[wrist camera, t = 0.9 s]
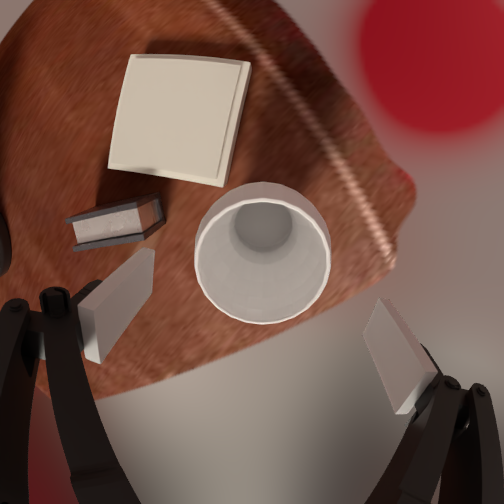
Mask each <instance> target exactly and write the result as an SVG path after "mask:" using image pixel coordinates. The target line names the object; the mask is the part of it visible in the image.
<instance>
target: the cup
mask: <svg viewBox="0 0 504 504" xmlns="http://www.w3.org/2000/svg"><path fill="white" fill-rule="evenodd" d="M194 266H195V270H196V275H197V279H198V282H199V284H200V286H201V288H202V290H203V292H204V294H205V295H206V297H207V298H208V299H209V300H210V301H211V302H212V303H213V304H214V305H215V306H216V307H217V308H218V309H219V310H221V311H222V312H224V313H225V314H227V315H229V316H230V317H232V318H235V319H238V320H241V321H243V322H247V323H255V324H271V323H279V322H282V321H285V320H288V319H291V318H294V317H295V316H297V315H299V314H300V313H302V312H303V311H305V310H307V309H308V308H309V307H310V306H311V305H312V304H313V303H314V302H315V301H316V300H317V299H318V298H319V296H320V294H321V293H322V291H323V289H324V287H325V285H326V284H327V281H328V277H329V273H330V269H331V239H330V235H329V232H328V229H327V226H326V223H325V221H324V219H323V218H322V216H321V215H320V214H319V212H318V211H317V209H316V208H315V206H314V205H313V204H312V203H311V202H310V201H309V200H307V199H306V198H305V197H304V196H302V195H301V194H300V193H299V192H297V191H296V190H293V189H291V188H289V187H287V186H284V185H282V184H277V183H270V182H256V183H249V184H244V185H242V186H240V187H237V188H235V189H232V190H230V191H229V192H227V193H226V194H225V195H224V196H222V197H221V198H220V199H219V200H217V201H216V202H215V203H214V204H213V205H212V206H211V208H210V209H209V210H208V212H207V213H206V215H205V216H204V217H203V219H202V220H201V223H200V226H199V229H198V231H197V234H196V239H195V259H194Z"/></svg>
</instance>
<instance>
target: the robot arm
mask: <svg viewBox="0 0 504 504" xmlns="http://www.w3.org/2000/svg"><path fill="white" fill-rule="evenodd" d="M154 256H155V250H152V249H148V248H144V247H142V248H141V249H140V250H139V251H138V252H136V253H135V254H134V255H133V256H132V257H130V258H129V259H128V260H127V261H126V262H125V263H123V264H122V265H121V266H120V267H119V268H118V269H117V270H115V271H114V272H113V273H112V274H111V275H110V276H109V277H108V278H106V279H105V280H104V281H101V280H98V279H97V280H95V281H92V282H90V283H88V284H87V285H86V286H85V287H83V289H81V290H80V291H79V292H78V293H76V294H75V295H74V296H73V297H72V298H71V299H70V293H69V291H68V290H66V289H65V288H62V287H49V288H47V289H44V290H43V291H42V292H41V293H40V295H39V299H40V304H41V310H42V312H37V311H31V310H30V308H29V304H28V302H27V301H26V300H24V299H20V298H17V299H16V298H15V299H11V300H9V301H8V302H6V303H5V304H4V305H3V307H2V309H1V311H0V504H29V489H28V445H29V444H28V443H29V428H30V418H31V409H32V400H33V394H34V388H35V382H36V376H37V371H38V366H39V361H40V359H44V360H46V368H47V375H48V382H49V388H50V394H51V400H52V405H53V410H54V415H55V419H56V423H57V427H58V431H59V435H60V439H61V443H62V446H63V450H64V453H65V456H66V459H67V463H68V465H69V469H70V472H71V477H70V479H71V484H72V487H73V489H74V492H75V494H76V497H77V500H78V502H79V504H141V503H140V501H139V499H138V497H137V496H136V494H135V492H134V490H133V488H132V486H131V485H130V483H129V481H128V479H127V477H126V475H125V473H124V471H123V469H122V468H121V466H120V464H119V462H118V460H117V458H116V456H115V453H114V451H113V449H112V447H111V444H110V442H109V440H108V437H107V434H106V432H105V429H104V427H103V424H102V422H101V419H100V416H99V414H98V411H97V408H96V405H95V402H94V399H93V396H92V393H91V389H90V386H89V383H88V379H87V376H86V372H85V369H84V365H83V361H82V357H81V351H82V350H83V349H84V352H85V357H86V359H89V360H91V361H93V362H96V363H99V364H101V363H102V362H103V360H104V359H105V357H106V356H107V354H108V353H109V351H110V350H111V349H112V347H113V346H114V344H115V343H116V341H117V340H118V339H119V337H120V336H121V334H122V333H123V332H124V330H125V329H126V327H127V326H128V325H129V323H130V322H131V321H132V319H133V318H134V316H135V315H136V314H137V312H138V311H139V310H140V308H141V307H142V306H143V304H144V303H145V302H146V300H147V299H148V298H149V296H150V295H151V294H152V284H153V269H154ZM10 263H11V244H10V238H9V234H8V230H7V227H6V224H5V221H4V219H3V217H2V215H1V213H0V277H1V276H2V275H4V274H5V273H6V272H7V271H8V269H9V267H10ZM362 336H363V338H364V341H365V343H366V345H367V347H368V350H369V352H370V354H371V357H372V359H373V361H374V363H375V366H376V368H377V370H378V373H379V375H380V378H381V380H382V382H383V385H384V388H385V390H386V392H387V395H388V397H389V400H390V403H391V405H392V408H393V410H394V412H395V414H407V413H408V412H409V411H410V410H411V408H412V407H413V406H414V405H415V408H416V410H417V411H416V412H415V413H414V415H413V416H412V417H411V419H409V421H408V422H407V423H406V424H405V426H407V425H408V424H409V425H408V427H407V429H406V431H405V434H404V436H403V438H402V440H401V442H400V444H399V446H398V448H397V450H396V452H395V454H394V455H393V457H392V459H391V461H390V463H389V465H388V466H387V468H386V470H385V472H384V473H383V475H382V477H381V478H380V480H379V482H378V483H377V485H376V487H375V488H374V490H373V491H372V493H371V494H370V496H369V497H368V499H367V500H366V502H365V503H364V504H431V499H432V497H433V495H434V492H435V489H436V487H437V484H438V481H439V478H440V476H441V484H440V493H439V501H438V504H504V479H503V466H502V456H501V448H500V441H499V435H498V430H497V424H496V419H495V414H494V409H493V405H492V400H491V397H490V393H489V392H488V390H487V388H486V387H484V385H481V384H479V383H474V384H473V385H472V387H471V388H470V389H469V390H465V389H461V386H460V384H459V382H458V381H457V380H456V379H454V378H453V377H451V376H446V375H445V376H444V375H443V373H442V372H441V370H440V369H439V367H438V366H437V364H436V362H435V361H434V359H433V358H432V356H430V353H429V352H428V350H427V349H426V348H425V347H424V346H423V345H422V344H421V343H419V341H418V340H417V338H416V337H415V335H414V334H413V332H412V331H411V330H410V328H409V327H408V325H407V324H406V322H405V321H404V320H403V318H402V317H401V315H400V314H399V313H398V311H397V310H396V308H395V307H394V305H393V304H392V303H391V301H390V300H389V299H384V298H378V301H377V303H376V305H375V308H374V310H373V312H372V314H371V317H370V319H369V321H368V323H367V325H366V328H365V330H364V332H363V334H362ZM468 424H469V425H468ZM467 425H468V427H467V429H466V426H467Z"/></svg>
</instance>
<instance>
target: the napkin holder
mask: <svg viewBox="0 0 504 504" xmlns="http://www.w3.org/2000/svg"><path fill="white" fill-rule="evenodd" d="M65 221H66V224H69V223H73V226H74V230H75V234H76V238H77V241H78V244H77V245H75V246H73V251H74V252H76V251H81V250H87V249H93V248H99V247H105V246H111V245H117V244H124V243H130V242H136V241H143V240H145V239H147V238H148V237H149V236H150V235H152V234H153V233H154V232H156V231H157V230H158V229H159V228H161V227H162V226H163V225H164V224H166V220H165V216H164V211H163V206H162V201H161V196H160V192H157V193H152V194H147V195H142V196H138V197H133V198H129V199H124V200H120V201H116V202H111V203H107V204H103V205H99V206H95V207H93V208H90V209H88V210H85V211H83V212H81V213H78V214H76V215H73V216H71V217H69V218H66V219H65Z"/></svg>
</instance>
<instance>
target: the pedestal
mask: <svg viewBox="0 0 504 504" xmlns="http://www.w3.org/2000/svg"><path fill="white" fill-rule="evenodd" d="M251 72H252V68H251V62H245V61H239V60H231V59H223V58H215V57H204V56H191V55H172V54H131V56H130V59H129V63H128V66H127V70H126V74H125V78H124V82H123V86H122V90H121V94H120V99H119V103H118V108H117V113H116V118H115V123H114V129H113V135H112V141H111V148H110V155H109V162H108V169H116V170H123V171H130V172H137V173H144V174H150V175H157V176H163V177H169V178H175V179H181V180H186V181H192V182H197V183H203V184H208V185H213V186H218V187H224V186H225V185H226V184H227V181H228V176H229V171H230V166H231V161H232V157H233V152H234V147H235V142H236V138H237V133H238V129H239V124H240V120H241V115H242V111H243V106H244V102H245V98H246V93H247V89H248V85H249V81H250V77H251Z"/></svg>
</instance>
